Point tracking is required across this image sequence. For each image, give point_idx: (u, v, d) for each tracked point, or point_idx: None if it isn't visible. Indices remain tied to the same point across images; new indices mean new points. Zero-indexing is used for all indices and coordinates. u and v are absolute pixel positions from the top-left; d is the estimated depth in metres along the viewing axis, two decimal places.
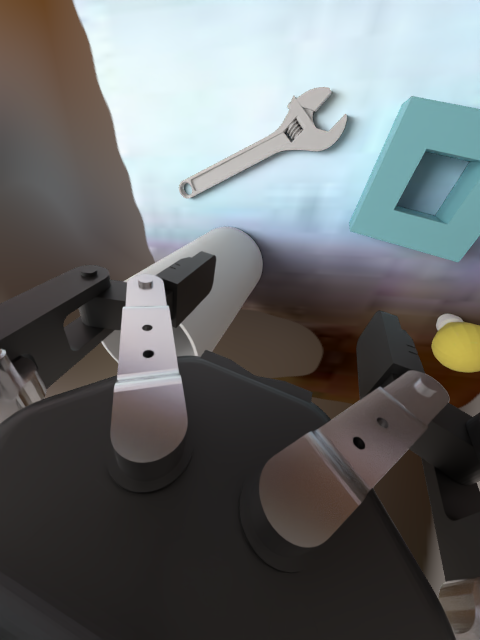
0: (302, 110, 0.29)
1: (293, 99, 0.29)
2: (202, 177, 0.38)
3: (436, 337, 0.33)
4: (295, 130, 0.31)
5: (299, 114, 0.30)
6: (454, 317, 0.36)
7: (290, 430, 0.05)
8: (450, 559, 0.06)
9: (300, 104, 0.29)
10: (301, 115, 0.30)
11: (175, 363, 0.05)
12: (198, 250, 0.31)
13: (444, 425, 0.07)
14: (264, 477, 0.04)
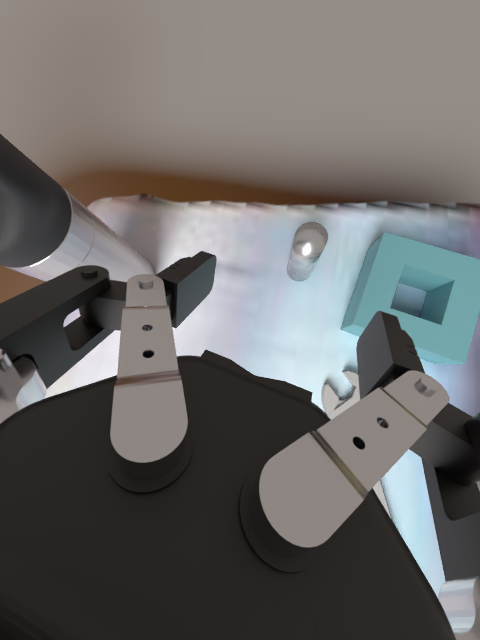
0: (337, 409, 0.32)
1: None
2: None
3: None
4: None
5: (339, 412, 0.32)
6: None
7: (290, 430, 0.05)
8: (450, 559, 0.06)
9: (332, 411, 0.32)
10: (340, 411, 0.32)
11: (175, 363, 0.05)
12: None
13: (444, 425, 0.07)
14: (264, 477, 0.04)
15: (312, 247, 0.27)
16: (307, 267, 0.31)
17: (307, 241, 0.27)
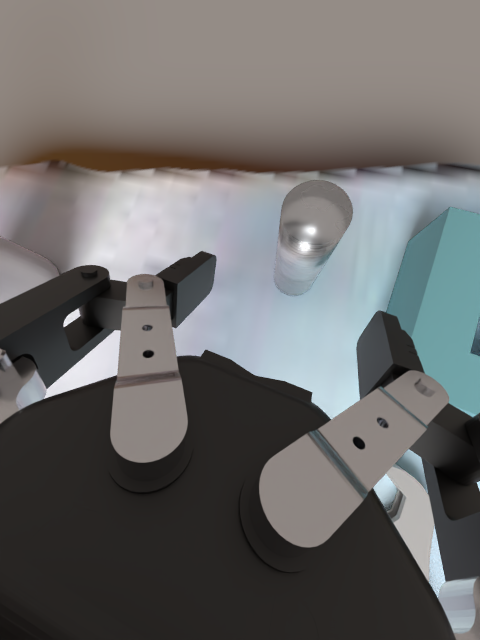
0: None
1: None
2: None
3: None
4: None
5: None
6: None
7: (290, 430, 0.05)
8: (450, 559, 0.06)
9: None
10: None
11: (175, 363, 0.05)
12: None
13: (444, 425, 0.07)
14: (264, 477, 0.04)
15: (319, 233, 0.12)
16: (308, 274, 0.17)
17: (308, 220, 0.13)
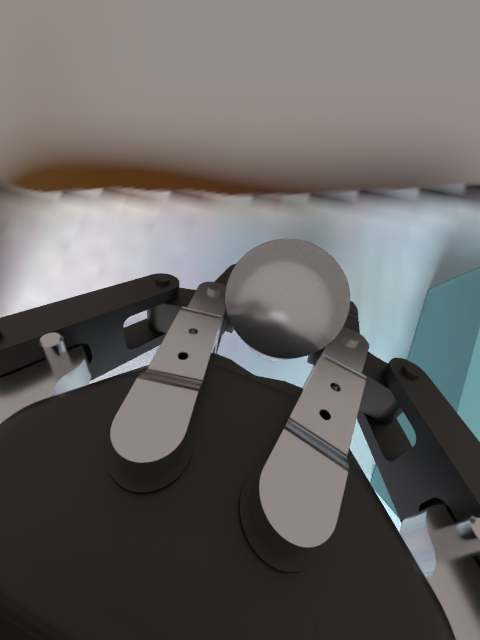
0: None
1: None
2: None
3: None
4: None
5: None
6: None
7: None
8: (397, 495, 0.07)
9: None
10: None
11: (202, 373, 0.05)
12: None
13: (363, 370, 0.08)
14: (264, 477, 0.04)
15: (290, 339, 0.07)
16: None
17: (271, 313, 0.07)
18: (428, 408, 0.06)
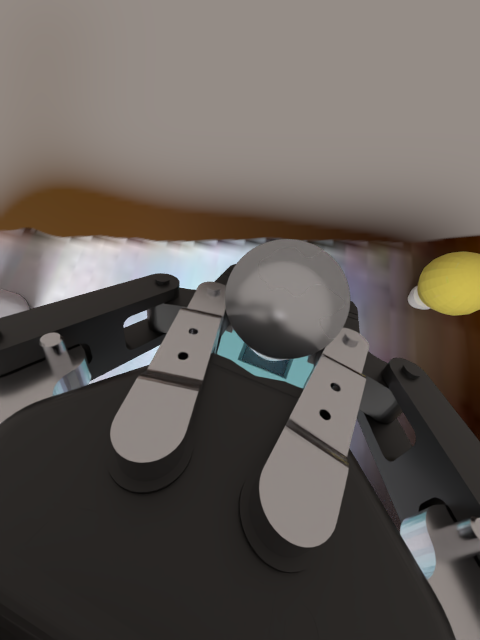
0: None
1: None
2: None
3: (446, 313, 0.26)
4: None
5: None
6: (411, 295, 0.31)
7: None
8: (397, 495, 0.07)
9: None
10: None
11: (202, 373, 0.05)
12: None
13: (363, 370, 0.08)
14: (264, 477, 0.04)
15: (289, 339, 0.07)
16: None
17: (271, 313, 0.07)
18: (428, 408, 0.06)
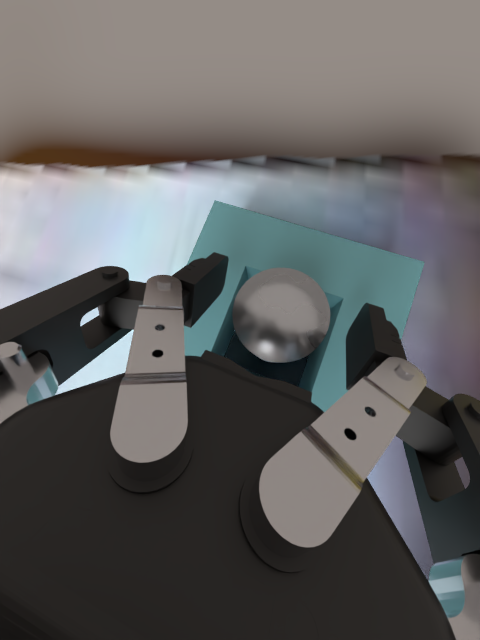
0: None
1: None
2: None
3: None
4: None
5: None
6: None
7: (290, 430, 0.05)
8: (436, 539, 0.06)
9: None
10: None
11: (183, 365, 0.05)
12: None
13: (421, 407, 0.07)
14: (264, 477, 0.04)
15: (283, 347, 0.09)
16: None
17: (269, 327, 0.09)
18: None
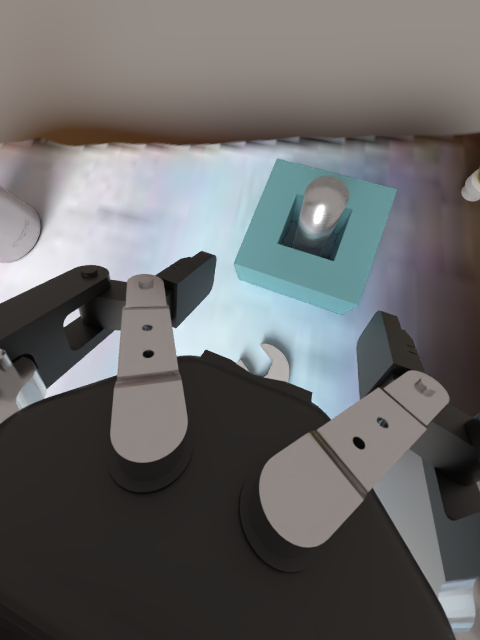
0: None
1: None
2: None
3: None
4: None
5: None
6: (468, 181, 0.28)
7: (290, 430, 0.05)
8: (450, 559, 0.06)
9: None
10: None
11: (175, 363, 0.05)
12: None
13: (444, 425, 0.07)
14: (264, 477, 0.04)
15: (328, 209, 0.20)
16: (319, 241, 0.24)
17: (321, 201, 0.20)
18: None
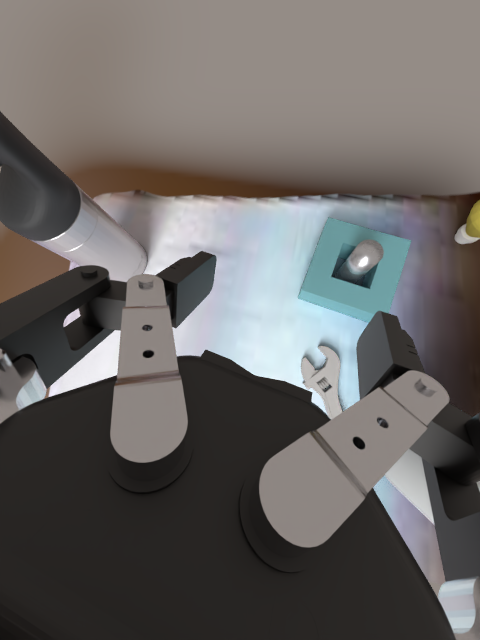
0: (313, 377, 0.39)
1: (305, 384, 0.39)
2: None
3: None
4: (324, 383, 0.39)
5: (315, 379, 0.39)
6: (459, 232, 0.40)
7: (290, 430, 0.05)
8: (450, 559, 0.06)
9: (309, 379, 0.40)
10: (315, 378, 0.39)
11: (175, 363, 0.05)
12: None
13: (444, 425, 0.07)
14: (264, 477, 0.04)
15: (371, 260, 0.33)
16: (360, 276, 0.37)
17: (366, 255, 0.33)
18: None
